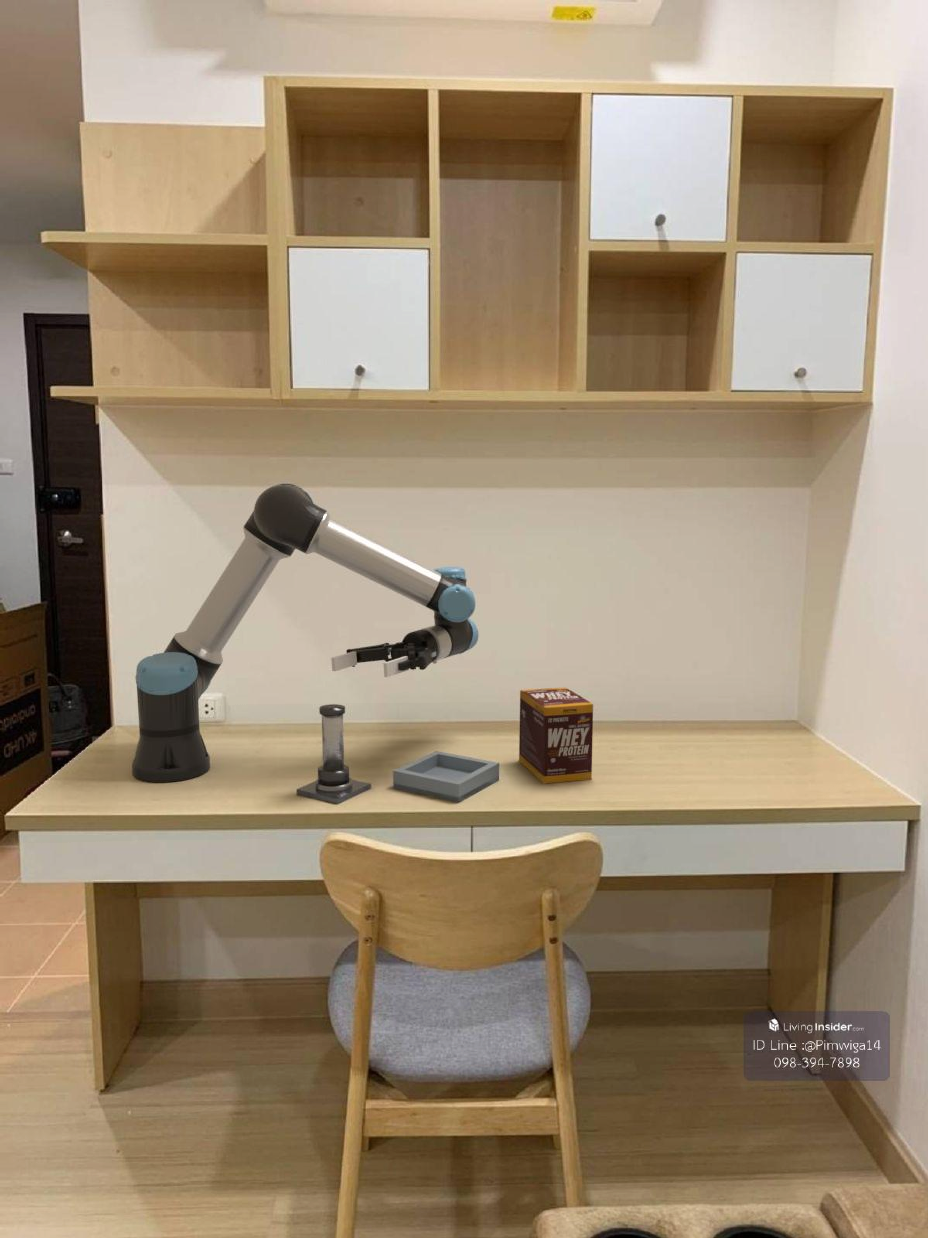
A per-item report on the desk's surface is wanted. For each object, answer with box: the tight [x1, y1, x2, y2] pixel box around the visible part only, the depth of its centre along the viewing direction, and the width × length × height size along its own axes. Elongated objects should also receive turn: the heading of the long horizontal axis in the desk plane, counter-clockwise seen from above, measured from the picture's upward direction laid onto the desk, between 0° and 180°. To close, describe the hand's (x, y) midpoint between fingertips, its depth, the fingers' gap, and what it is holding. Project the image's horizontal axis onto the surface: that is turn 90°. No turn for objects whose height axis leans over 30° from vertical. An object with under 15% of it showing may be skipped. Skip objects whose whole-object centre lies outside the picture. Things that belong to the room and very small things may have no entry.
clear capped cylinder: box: [317, 703, 351, 787], centre depth 176 cm, size 6×6×14 cm
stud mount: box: [296, 777, 372, 805], centre depth 177 cm, size 10×10×2 cm
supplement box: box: [518, 687, 594, 785], centre depth 189 cm, size 10×15×16 cm
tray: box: [392, 750, 500, 803], centre depth 181 cm, size 15×15×4 cm
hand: (358, 667), depth 180 cm, fingers open, 13 cm apart
